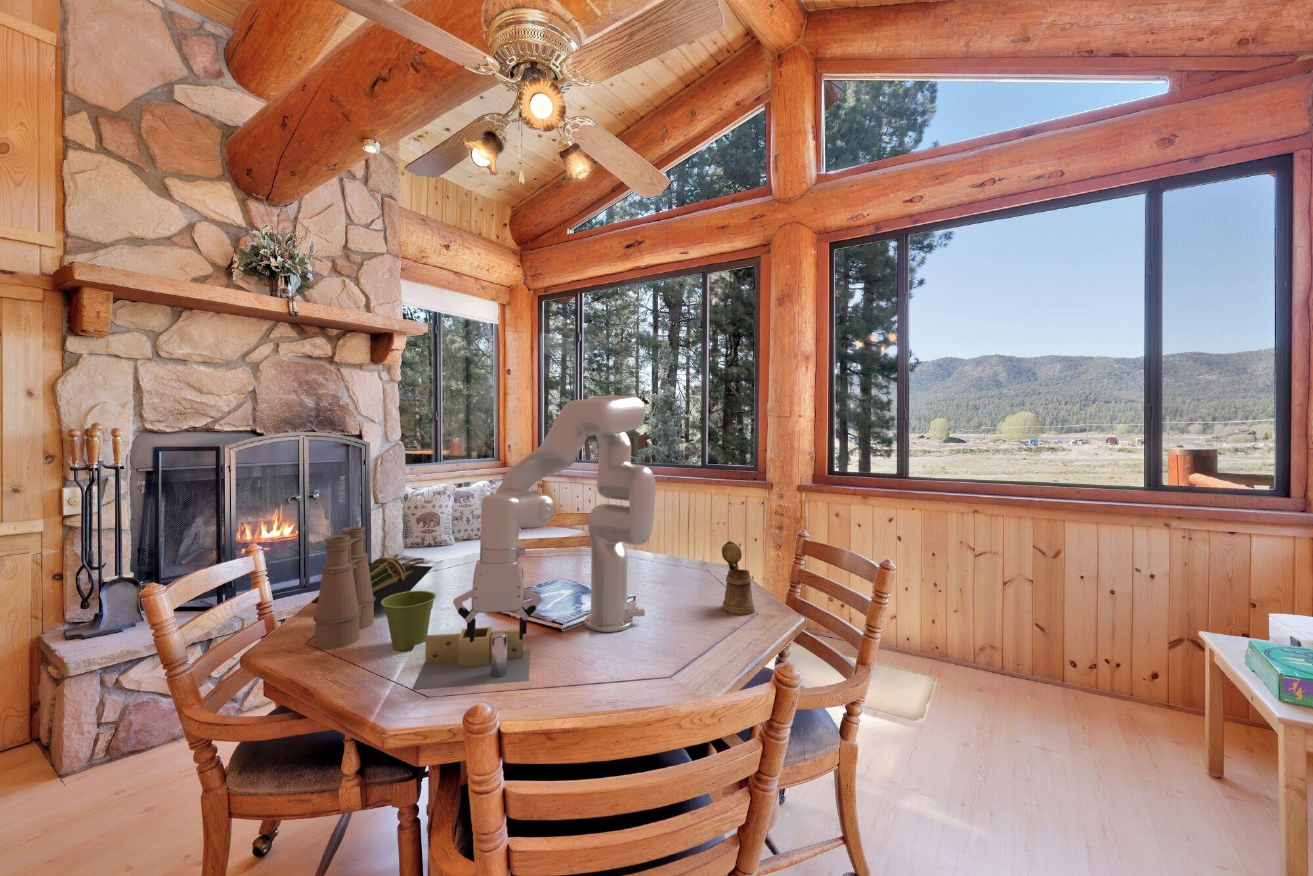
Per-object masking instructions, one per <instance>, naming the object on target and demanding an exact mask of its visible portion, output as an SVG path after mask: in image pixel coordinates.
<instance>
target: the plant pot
mask: <svg viewBox="0 0 1313 876" xmlns="http://www.w3.org/2000/svg"><path fill="white" fill-rule="evenodd" d="M436 598H437V595H436V593H435V592H432V591H428V590H411V591H408V592H402V593H398V594H394V595H391V596H388V597H386V598H384V599H383V600H382V601H381V605H382V606H381V607H383V609H384V613H385V616H386V620H387V623H388V629H389V635H390V639H391V645H392V648H393V649H394V650H396V651H399V652H405V651H407V650H412V651H413V650H414V649H415V647H416V646H417V645H420V644H422V643H426V635H429V634H428V632H429V626H430V619H431V614H432V613H431V612H432V609H433V605H434V601H435V599H436Z"/></svg>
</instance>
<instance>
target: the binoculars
mask: <svg viewBox="0 0 1313 876" xmlns="http://www.w3.org/2000/svg"><path fill="white" fill-rule="evenodd" d="M341 531H342V533H343V534H337V535H329V536H326V537H324V542H325V543H326V545H325V546H324V547H323V549H324V551H326V564H325V565H323V566H322V567H321V570H320V571H321V579H320V585H319V592H318V596H319V598H318V603H317V605H316V612H315V615H314V616H313V619H312V621H314V623H315V641H314V645H315V648H318V649H323V650H332V649H333V650H334V649H335V650H336V649H339V648H343V647H344V648H345V647H348V646H351V645H353V644H355V643H357V642H358V641H359V640H360V630H364V629H367V628H369V627H371V626H373V624H375V622H374V621H375V618H374V613H375V612H374V611H375V610H374V607H375V606H374V601H375V599H376V598H375V597H374V596H373V591H372V585H371V579H370V572H369V566H368V563H369V561H368V557H369V554H368V553H367V552H365V551H364V546H365V545H364V540H366V537H367V535H365V534H364V532H365V531H366V526H350V527H349V526H348V527H343V528H342V529H341Z"/></svg>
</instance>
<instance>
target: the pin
mask: <svg viewBox="0 0 1313 876" xmlns="http://www.w3.org/2000/svg"><path fill="white" fill-rule="evenodd" d="M505 675H507V633H495V634H493V635H492V636H491V676H492V677H497V678H498V677H503V676H505Z"/></svg>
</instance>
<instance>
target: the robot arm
mask: <svg viewBox="0 0 1313 876" xmlns="http://www.w3.org/2000/svg"><path fill="white" fill-rule="evenodd" d="M645 418H646V407H645V405H644V402H643V401H642V399H640V398H639V397H637V396H635V395H596V396H592V397H589V398H588V399H587V398H585V399H584V398H583V399H574V400H570V401H568V402H566V403H565V404H564V406H563V407H562V409H561V410H560V412H559V414H558V415H557V417H556V418H555V420H554V422H553V424H552V426H551V427H550V429H549V431H548V433H547V435H546V436H545V437H544V439H543V441H542V443H541V444H540V446H539V447H537V448H536V449H535V450H533V451H531V452H530V453H529V454H527V455H526V456H525V457H524V458H522V459H521V460H520V461H518V462H517V463H516V464H515V465H514V466H512V468H510V470H509V471H508V472H507V473H506V474H505V476H504V478H503V479H502V481H501V483H500V484H499V486H498V487H497V490H496V491H495V492H494V493H493V494H487V495H485V496H484V497H483V498H482V500H481V505H480V508H481V509H480V510H481V511H480V512H481V513H480V541H479V544H480V547H479V548H480V549H479V560H478V559H477V561H476V563H475V566H474V572H473V578H472V579H473V581H472V588H471V589H469V591H468V590H467V591H466V592H464V593H462V594H460V595H458V596H456V597H455V598H454V599H453V600H452V603H453V606H454V607H455V609H456V610H457V613H458V615H460V616H461V617H462V618H463V619H464V621H465V623H466V629H467V637H470V642H473V641H474V639H475V628H476V618H475V617H476V616H477V615H478V614H481V613H483V614H485V613H488V614H489V613H509V612H510V613H512V612H516V613H517V614H518V616H520V617H519V629H518V630H519V639H520V640H523V641H524V635H526V634H527V630H528V629H527V628H528V627H527V626H528V625H527V624H528V619H529V618H530V617H531V616H532V615H533V614H534V613H535V612H536V610H537V608H538V606H539V604H540V603H541V601H542V595H540V594H539V593H536V592H534V591H532V590H530V589H529V588H526V587H525V585H524V584H525V581H524V579H525V578H524V566H523V560H521V559H520V557H523V556H524V557H525V556H526V548H521V547H520V546H519V536H520V535H519V532H520V531H519V530H520V528H540V527H543V526H546V525H548V524H549V523H550V521H552V519H553V517H554V515H555V513H556V506H555V505H556V504H555V502H554V501H553V498H551V497H550V496H549V495H548V494H546V493H544V492H539V491H533V490H530V488H532V486H533V485H535V484H536V483H537V482H540V481H541V480H543V479H544V478H546V477H549V476H551V475H555V474H558V473H560V472H561V471H562V472H563V471H565V470H567V469H568V468H570V467H572V466H573V465H574V464H575V461H576V459H577V458H578V456H579V453H580V452H581V450H582V448H583V446H584V444H585V442H586V440H587V439H588V437H589V436H596V439H597V442H598V452H599V453H598V465H597V477H596V489H597V493H598V494H599V495H600V496H601V497H603V498H605V499H611V500H617V501H618V500H619V501H626V502H629V505H623V504H616V503H615V504H612V503H602V504H598V505H596V506H595V507H593V508H592V510H591V511H590V513H589V514H588V517H587V527H588V528H587V529H588V535H589V540H590V550H591V551H590V552H591V554H590V555H591V558H590V560H591V563H590V564H591V567H590V568H591V570H590V571H591V573H590V578H591V579H590V582H591V583H590V584H591V585H590V614H589V615H587V616H586V617H585V618H584V626H585V627H586V628H587V629H590V630H593V631H596V632H602V633H614V632H620V631H623V630H626V629H628V628H630V627H631V626H632V625H633V621H634V620H633V618H634V617H639V618H641V617H645V616H646V615H645V614H646V611H645V608H639V607H638V606H633V607H630V606H629V604H628V554H627V551H626V548H625V545H633V546H642V545H645V544H646V543H647V542H648V541H649V540H650V538H651V536H652V533H653V529H654V520H655V519H654V517H655V503H656V489H657V485H656V483H657V482H656V478H655V475H654V473H653V471H652V469H650V468H649V467H648V466H646V465H643V464H633V463H632V443H631V439H630V437H629V436H628V434H627V432H631V431H634V430H636V429H638V428H640V427H641V426H642V424H643V423H644V421H645ZM624 544H625V545H624ZM525 597H526V598H528V599H530V600H531V601H532V602H531V604H530V605H529V606H528V607H527V608H526V606H525V605H524V598H525ZM470 599H471V609H470V610H469V609H468V608H466V607H465V606H464V602H465V601H468V600H470ZM523 634H524V635H523Z"/></svg>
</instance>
